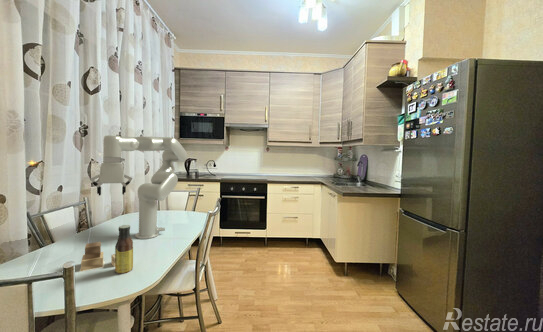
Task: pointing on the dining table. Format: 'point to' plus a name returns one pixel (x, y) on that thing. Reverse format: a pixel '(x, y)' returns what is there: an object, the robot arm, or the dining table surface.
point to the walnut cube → (92, 250)
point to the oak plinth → (91, 263)
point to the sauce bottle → (124, 251)
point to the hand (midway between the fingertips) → (111, 194)
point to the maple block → (113, 260)
